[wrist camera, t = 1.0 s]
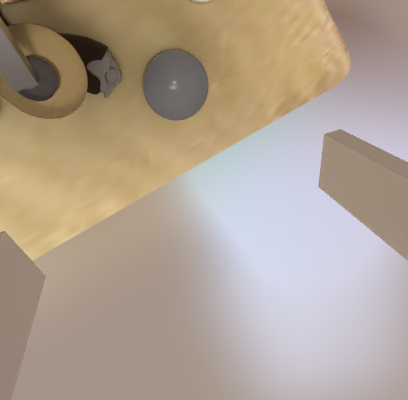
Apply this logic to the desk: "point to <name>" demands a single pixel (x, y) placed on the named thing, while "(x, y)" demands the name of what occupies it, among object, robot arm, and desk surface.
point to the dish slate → (175, 84)
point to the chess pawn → (201, 1)
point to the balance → (40, 70)
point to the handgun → (94, 63)
